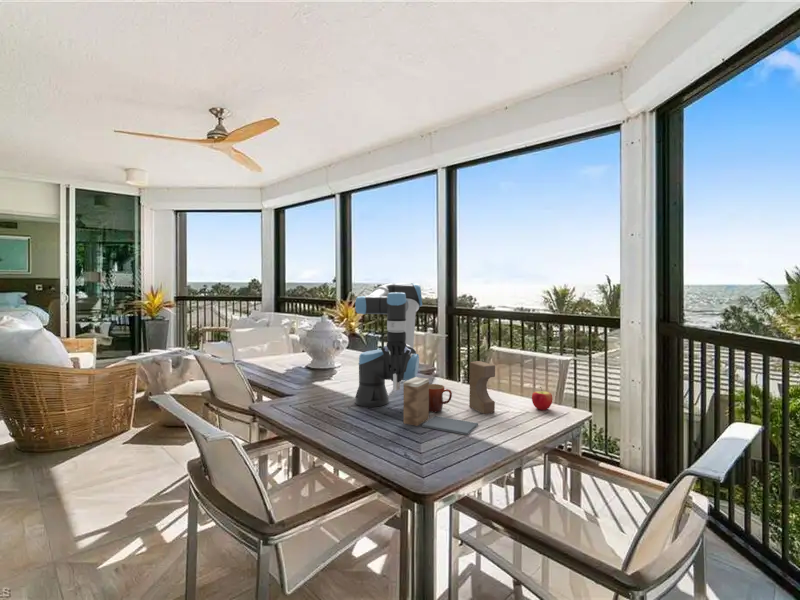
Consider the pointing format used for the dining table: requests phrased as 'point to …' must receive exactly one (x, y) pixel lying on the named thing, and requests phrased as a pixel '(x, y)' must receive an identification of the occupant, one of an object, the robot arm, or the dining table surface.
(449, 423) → the mat
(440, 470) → the dining table surface
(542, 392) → the apple
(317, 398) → the dining table surface
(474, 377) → the decorative block
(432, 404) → the mug
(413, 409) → the brown and cream block
